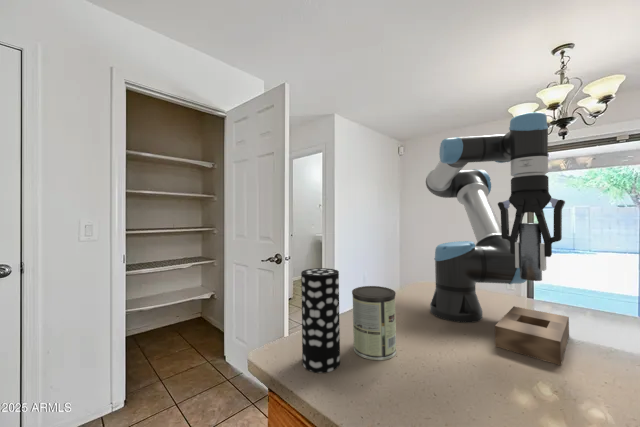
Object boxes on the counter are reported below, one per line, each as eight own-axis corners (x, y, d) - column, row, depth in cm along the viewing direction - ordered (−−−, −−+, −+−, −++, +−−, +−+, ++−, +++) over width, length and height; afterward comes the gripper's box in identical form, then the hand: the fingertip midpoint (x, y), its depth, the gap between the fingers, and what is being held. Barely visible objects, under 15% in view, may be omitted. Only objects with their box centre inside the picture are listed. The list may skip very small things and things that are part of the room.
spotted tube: (312, 377, 54) (311, 277, 55) (296, 358, 62) (295, 270, 62) (347, 366, 58) (345, 273, 58) (328, 349, 66) (327, 267, 66)
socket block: (495, 346, 66) (494, 325, 66) (514, 323, 80) (513, 306, 80) (560, 365, 57) (560, 341, 57) (569, 335, 71) (568, 316, 71)
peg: (518, 278, 68) (517, 223, 68) (522, 275, 71) (521, 222, 71) (540, 281, 65) (539, 223, 65) (543, 278, 68) (542, 223, 68)
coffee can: (357, 337, 72) (356, 284, 72) (397, 343, 68) (396, 287, 69) (348, 356, 62) (347, 295, 62) (395, 364, 59) (393, 299, 59)
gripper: (485, 178, 72) (486, 266, 72) (574, 170, 59) (576, 276, 59) (493, 180, 77) (495, 262, 77) (577, 173, 64) (579, 271, 64)
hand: (530, 268), depth 68 cm, fingers closed on peg, 4 cm apart
